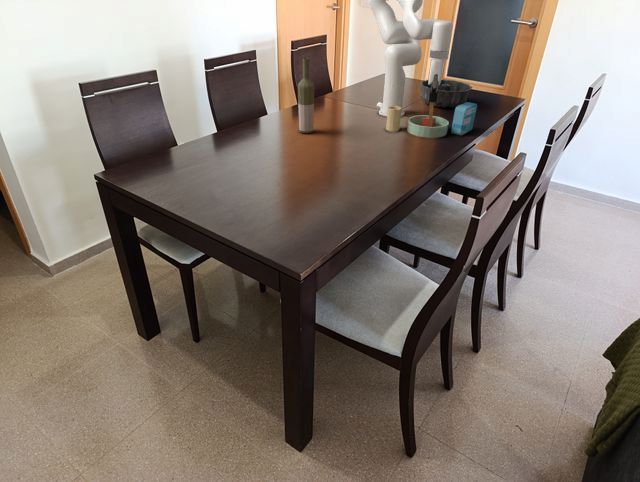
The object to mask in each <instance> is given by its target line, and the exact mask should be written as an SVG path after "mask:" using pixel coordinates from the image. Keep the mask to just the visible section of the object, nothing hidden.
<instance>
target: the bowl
mask: <svg viewBox="0 0 640 482" xmlns="http://www.w3.org/2000/svg"><path fill="white" fill-rule="evenodd" d="M426 117H429V114H421V115H419V114H418V115H413V116H410V117H408V120H407V126H406V131H407V133H409V134H410V135H413V136H416V137H420V138H429V139H435V138H443V137H445V136H447V134H448V130H449V120H447V119H445V118H444V117H441V116H435V115H433V118H436V121H435V127H425V126H423V118H426Z"/></svg>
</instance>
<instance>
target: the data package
mask: <svg viewBox="0 0 640 482" xmlns="http://www.w3.org/2000/svg"><path fill="white" fill-rule="evenodd" d="M477 109H478V104H477V103H474V102H468V101H466V102H465V103H464V104H461V105H459V106H457V107H456V108H454V112H453V113H454V114H453V120H452V126H451V130H450V131H451V134H452V135H457V136H461V137H462V136H463V135H466V134H467V133H469V132H470V131H472V130H473V128H474V123H475V118H476V113H477Z"/></svg>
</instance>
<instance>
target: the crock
mask: <svg viewBox="0 0 640 482" xmlns="http://www.w3.org/2000/svg"><path fill="white" fill-rule="evenodd" d="M401 110H402V111H403V107H402V108H401V107H398V106H389V107H388V112H387V116H386V121H385V122H386V123H385V130H386V131H387V132H398V131H400V128H401V127H400V126H401V119H402V116H401Z"/></svg>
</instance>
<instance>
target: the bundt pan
mask: <svg viewBox="0 0 640 482" xmlns="http://www.w3.org/2000/svg"><path fill="white" fill-rule="evenodd" d="M428 81H429V79H426V80H422V81H421V82H420V83H419V85H420V99H421V100H422V101H423V102H424V103H425V104H427V105H429V106H430V102H429V96H430V91H431V85H432V83H431V84H430V85H428ZM472 90H473V86H471V85H470V84H469V83H466V82H463V81H458V80H455V79H454V80H453V79H444V78H443V79H441V82H440V85H439V84H438V90H437V91H438V95H437V101H436V102H434V107H436V108H441V107H442V108H443V109H446V108H447V109H452V108H453V109H456V107H457V106H459V105H461V104H464V103H466V102H467V100H468V97H469V95H470V92H471V91H472Z"/></svg>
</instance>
